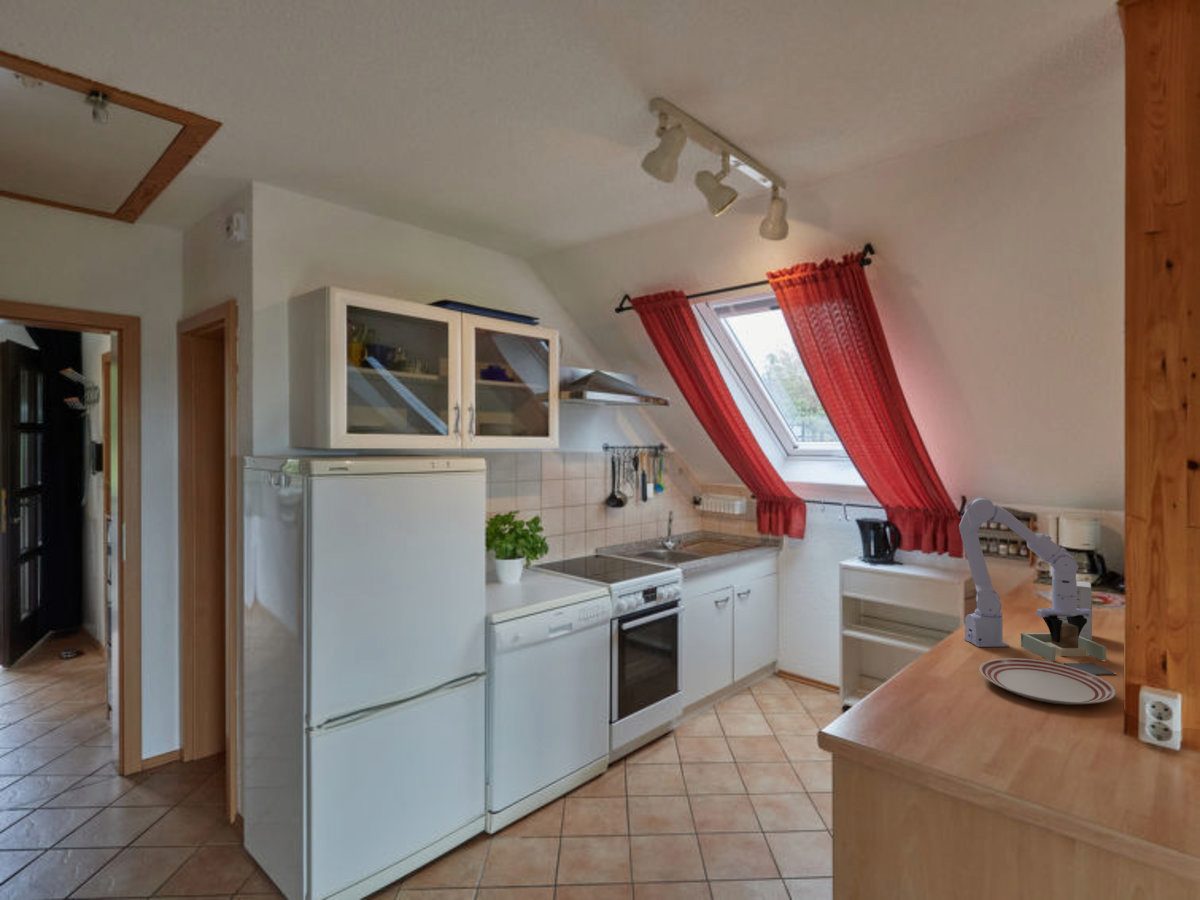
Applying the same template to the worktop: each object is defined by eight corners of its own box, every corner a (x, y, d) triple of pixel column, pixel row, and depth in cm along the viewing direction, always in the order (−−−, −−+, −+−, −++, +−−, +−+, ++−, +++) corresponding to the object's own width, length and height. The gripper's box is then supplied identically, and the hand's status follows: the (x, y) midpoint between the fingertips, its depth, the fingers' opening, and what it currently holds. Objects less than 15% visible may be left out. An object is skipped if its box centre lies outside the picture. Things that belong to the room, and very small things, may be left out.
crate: (1051, 661, 175) (1051, 647, 175) (1021, 646, 188) (1020, 633, 188) (1106, 661, 174) (1106, 646, 174) (1071, 646, 187) (1071, 632, 187)
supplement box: (1092, 643, 190) (1091, 587, 190) (1054, 637, 196) (1054, 583, 196) (1091, 635, 198) (1091, 581, 198) (1055, 630, 203) (1055, 578, 203)
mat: (1085, 675, 164) (1085, 673, 164) (1063, 664, 172) (1063, 663, 172) (1116, 675, 164) (1116, 673, 164) (1093, 664, 172) (1093, 662, 172)
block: (1062, 648, 180) (1062, 627, 180) (1051, 643, 184) (1051, 622, 184) (1078, 647, 180) (1078, 627, 180) (1066, 643, 184) (1066, 622, 184)
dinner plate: (1143, 717, 139) (1143, 702, 139) (1006, 709, 145) (1006, 694, 145) (1076, 673, 166) (1076, 661, 166) (963, 667, 172) (963, 655, 172)
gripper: (1048, 598, 178) (1049, 645, 178) (1100, 597, 178) (1100, 645, 178) (1031, 592, 185) (1032, 638, 185) (1081, 591, 185) (1081, 637, 185)
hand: (1064, 641), depth 182 cm, fingers closed on block, 4 cm apart
